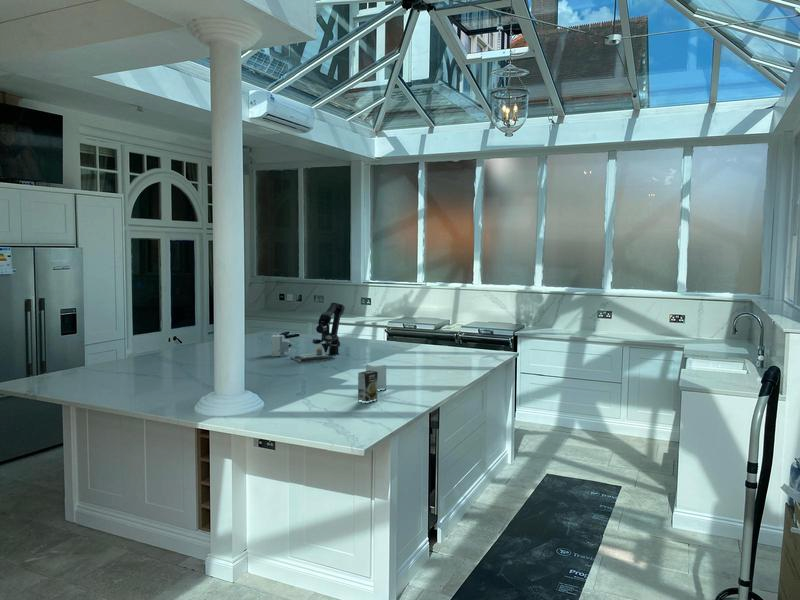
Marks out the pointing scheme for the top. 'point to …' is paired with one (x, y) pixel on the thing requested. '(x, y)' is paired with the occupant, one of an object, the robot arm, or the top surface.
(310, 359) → the gray flat tray
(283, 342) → the circuit breaker
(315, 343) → the robot arm
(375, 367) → the supplement box
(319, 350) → the breaker lever
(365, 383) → the coffee box
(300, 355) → the breaker panel
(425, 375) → the top surface
